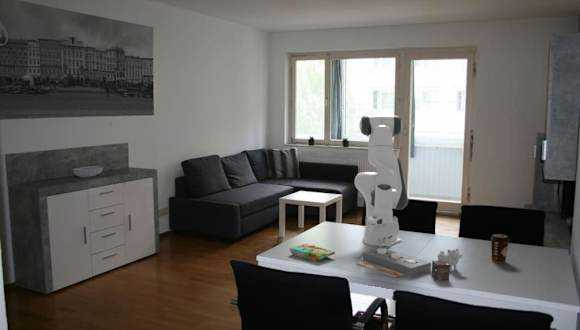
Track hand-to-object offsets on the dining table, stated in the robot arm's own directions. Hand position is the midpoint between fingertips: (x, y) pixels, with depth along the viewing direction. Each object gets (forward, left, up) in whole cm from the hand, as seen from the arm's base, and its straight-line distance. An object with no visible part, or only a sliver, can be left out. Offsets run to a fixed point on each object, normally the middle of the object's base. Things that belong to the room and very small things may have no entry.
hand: (382, 245), depth 250 cm
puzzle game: (+24, -25, -8) cm, 35 cm away
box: (-2, +33, -8) cm, 34 cm away
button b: (0, +9, -5) cm, 10 cm away
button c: (0, +18, -6) cm, 19 cm away
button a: (0, 0, -5) cm, 5 cm away
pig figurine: (-17, +27, -8) cm, 33 cm away
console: (0, +9, -8) cm, 12 cm away
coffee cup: (-47, +34, -8) cm, 59 cm away
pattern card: (+11, +9, -7) cm, 16 cm away
